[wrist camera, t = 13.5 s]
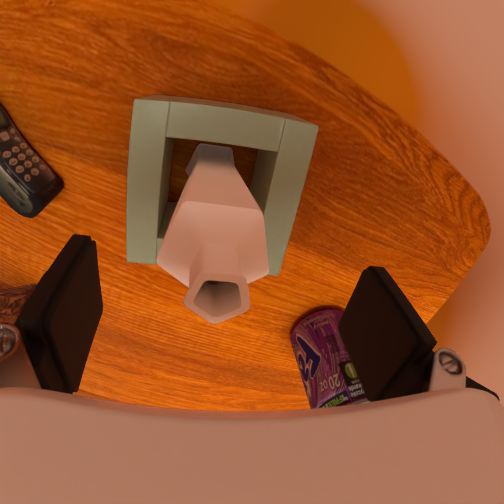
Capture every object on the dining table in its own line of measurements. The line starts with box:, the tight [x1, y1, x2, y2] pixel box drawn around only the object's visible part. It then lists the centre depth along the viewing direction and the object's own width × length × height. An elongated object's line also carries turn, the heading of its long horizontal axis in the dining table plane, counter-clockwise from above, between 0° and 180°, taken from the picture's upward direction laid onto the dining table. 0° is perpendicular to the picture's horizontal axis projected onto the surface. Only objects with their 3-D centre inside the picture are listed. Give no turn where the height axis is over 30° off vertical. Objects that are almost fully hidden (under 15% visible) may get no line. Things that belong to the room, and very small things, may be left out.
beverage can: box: [291, 310, 370, 409], centre depth 28 cm, size 7×7×12 cm
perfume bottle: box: [156, 143, 269, 324], centre depth 16 cm, size 5×4×15 cm
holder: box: [126, 95, 319, 276], centre depth 20 cm, size 10×10×6 cm
